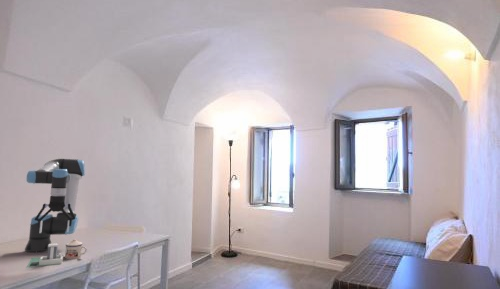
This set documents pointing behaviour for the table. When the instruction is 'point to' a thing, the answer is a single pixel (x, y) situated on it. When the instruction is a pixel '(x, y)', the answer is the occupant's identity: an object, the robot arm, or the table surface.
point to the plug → (52, 251)
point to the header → (51, 260)
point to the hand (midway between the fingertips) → (54, 232)
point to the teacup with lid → (74, 249)
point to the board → (35, 262)
